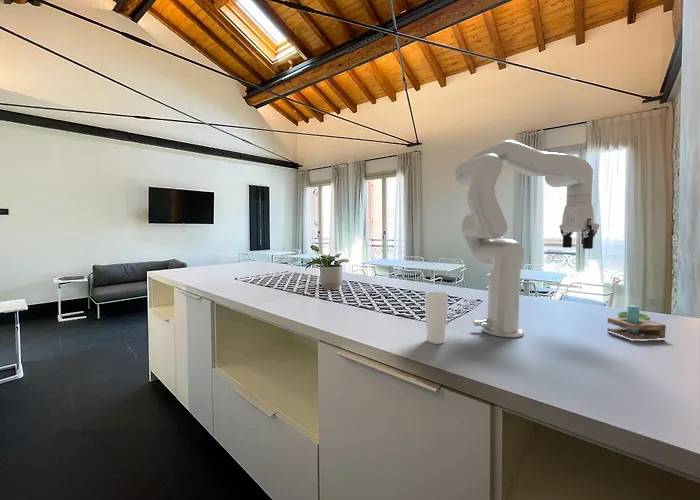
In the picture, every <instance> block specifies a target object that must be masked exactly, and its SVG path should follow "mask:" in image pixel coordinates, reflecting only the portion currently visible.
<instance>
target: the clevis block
mask: <svg viewBox="0 0 700 500" xmlns="http://www.w3.org/2000/svg"><path fill="white" fill-rule="evenodd" d="M607 323H608V324H611V325H614V326H617V327H609V328H606V329H607V330H608V331H611V332H614V333H617V334H620V335H623V336H625V337H628V338H631V339H657V338H665V339H666V328H667V327H666V324H664V323H661V322H656V321H653V320H645V319H642V318H639V323H629V322H627V318H619V317H607ZM626 328H627V329H630V330H639V332H638V334H630V333H627V332H626Z"/></svg>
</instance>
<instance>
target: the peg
mask: <svg viewBox="0 0 700 500" xmlns="http://www.w3.org/2000/svg"><path fill="white" fill-rule="evenodd" d="M626 310H627V311H626V312H627V322H629V323H639V313H641V312H640V311H641V308H640V306H638V305H630V304H629V305H627V307H626ZM626 332H627V333H630V334H638V332H639V330H630V329H627V328H626Z"/></svg>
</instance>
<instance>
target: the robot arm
mask: <svg viewBox="0 0 700 500" xmlns="http://www.w3.org/2000/svg"><path fill="white" fill-rule="evenodd" d="M504 168H506V169H509V170H512V171H514V172H517V173H520V174H522V175H525V176H528V177H544V181H545V183H546V184H547V185H548V186H550V187H552V188H560V187H561V188H562V187H563V188H564V187H566V202H565V203H566V205H565V206H564V209H563V213H562V214H563V215H562V218H561V219H562V220H561V221H562V222H561V224H560V225H559V231H560V233H561V237H562V248H572V245H573V237H572V235H573V233H582V234H583V236H584V237H582V249H583V250H588V249H589V250H590V249H593V248H594V245H593V244H594V238H595V235H596V234H597V233H598V230H599V228H600V224H599V223H598V222H595V221H594V219H595V218H594V217H595V216H594V208H593V200H592V199H593V182H594V181H593V175H594V169H593V167H592V166H591V164H590V163H589V162H588V161H587V160H585V159H584V158H581V157H578V156H576V155H573V154H569V153H568V154H567V153H559V152H552V151H551V152H550V151H549V152H548V151H541V150H538V149H536V148H533V147H531V146H529V145H525V144H523V143H522V142H518V141H516V140H513V139H509V140H508V139H507V140H503V141H500V142H497V143H495V144H491V145H489V146H487V147H484V148H483V149H481V150H480V151H478V152H476V153H474V154H473V155H471V156H469V157H468V158H466V159H465V160H463V161H461V162H460V163H459V164H458V165H457V166H456V168H455V170H454V176H455V180H456V181H457V183H459V185H462V186H467V187H469V188H468V190H467V196H466V197H467V204H468V209H469V210H470V213H468V214H466V215H465V216H464V218H463V219H462V222H461V232H462V235H463V237H464V240H465V241H466V244H467V246H468V248H469V250H470V253H471V254H472V256H473V258H474V260H475V261H476V262H478V263H479V264H481V265H483V266H492V270H491V271H490V273H489V277H488V285H487V286H488V287H487V288H488V291H487V293H488V295H487V316H484V318H483V319H482V320H479V319H474V320H473V326H474V327H481V328H482V331H483V332H484V333H486V334H488V335H491V336H497V337H500V338H519V337H522V336H524V330H523V329H522V328H520V327H519V319H520V290H521V289H520V288H521V287H520V286H521V285H520V283H521V272H522V267H523V263H524V258H525V249H524V247H523V245H522V243H520V242H519V241H516V240H514V239H511V238H503V237H504V236H505V235H506V234H507V232H508V223H507V220H506V217H505V215H504V213H503V211H502V209H501V206H500V204H499V202H498V199H497V196H496V185H497V181H498V179H499V177H500V175H501V172H502V169H504Z"/></svg>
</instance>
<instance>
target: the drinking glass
mask: <svg viewBox="0 0 700 500" xmlns="http://www.w3.org/2000/svg"><path fill="white" fill-rule="evenodd" d="M448 300H449V297H448V293H446V292H441V291H427V292H425V294H424V312H425V313H424V314H425V327H426V341H427V342H428V343H430V344H434V345H439V344H440V345H441V344H443V343H445V340H446V339H445V338H446V337H445V336H446V334H445V333H446V325H447V316H448V304H449V303H448V302H449V301H448Z"/></svg>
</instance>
